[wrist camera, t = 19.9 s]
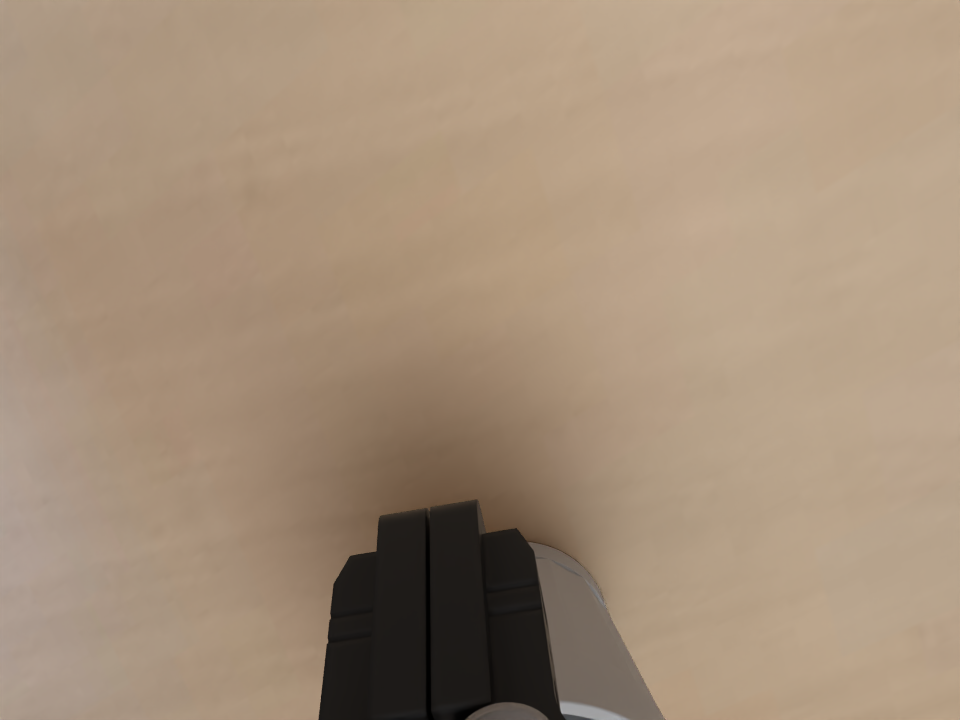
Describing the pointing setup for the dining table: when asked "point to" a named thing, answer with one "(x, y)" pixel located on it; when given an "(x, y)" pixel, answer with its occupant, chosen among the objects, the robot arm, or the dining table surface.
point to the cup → (588, 646)
